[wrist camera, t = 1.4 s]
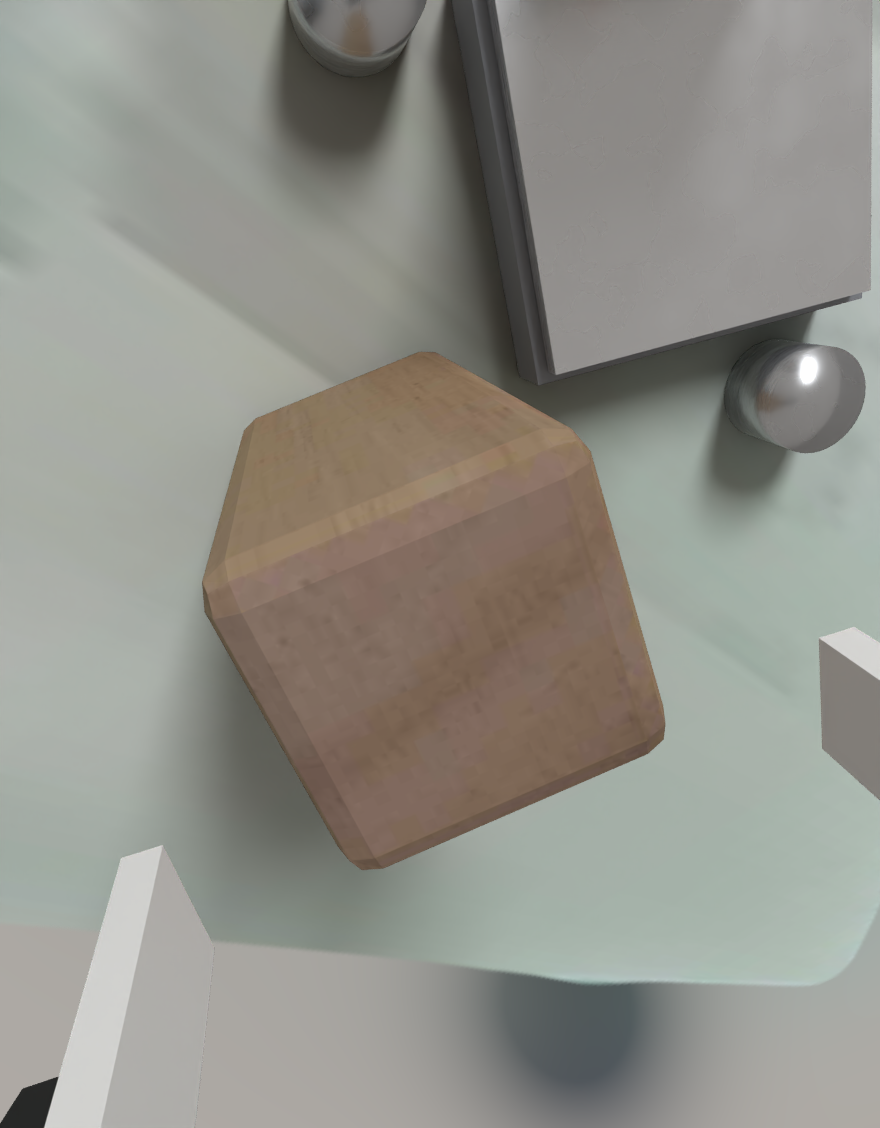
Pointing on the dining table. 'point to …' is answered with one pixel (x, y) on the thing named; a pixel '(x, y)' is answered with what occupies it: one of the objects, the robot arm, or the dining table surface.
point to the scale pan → (686, 163)
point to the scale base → (507, 206)
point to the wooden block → (428, 606)
